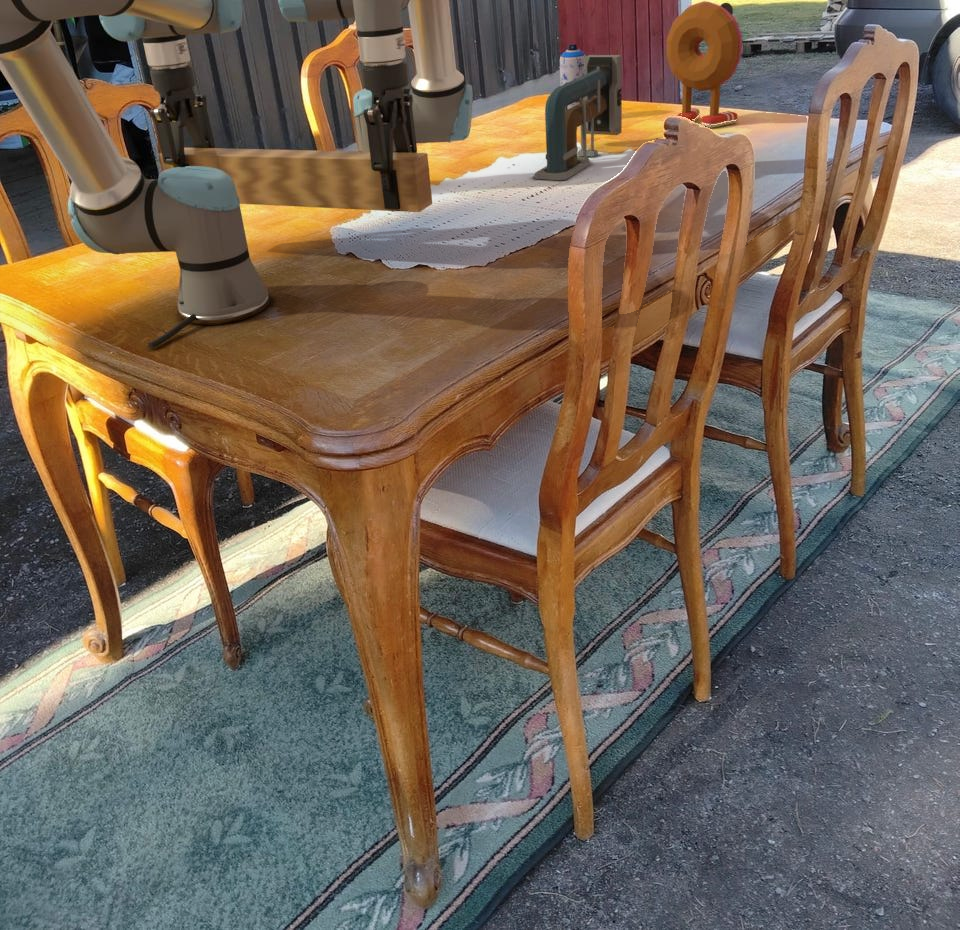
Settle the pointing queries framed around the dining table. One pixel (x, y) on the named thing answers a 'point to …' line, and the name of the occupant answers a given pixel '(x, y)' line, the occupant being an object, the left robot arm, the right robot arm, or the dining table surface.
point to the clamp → (582, 116)
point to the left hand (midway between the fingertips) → (199, 194)
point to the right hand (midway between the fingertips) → (400, 203)
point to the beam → (316, 177)
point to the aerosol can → (572, 66)
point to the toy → (705, 56)
